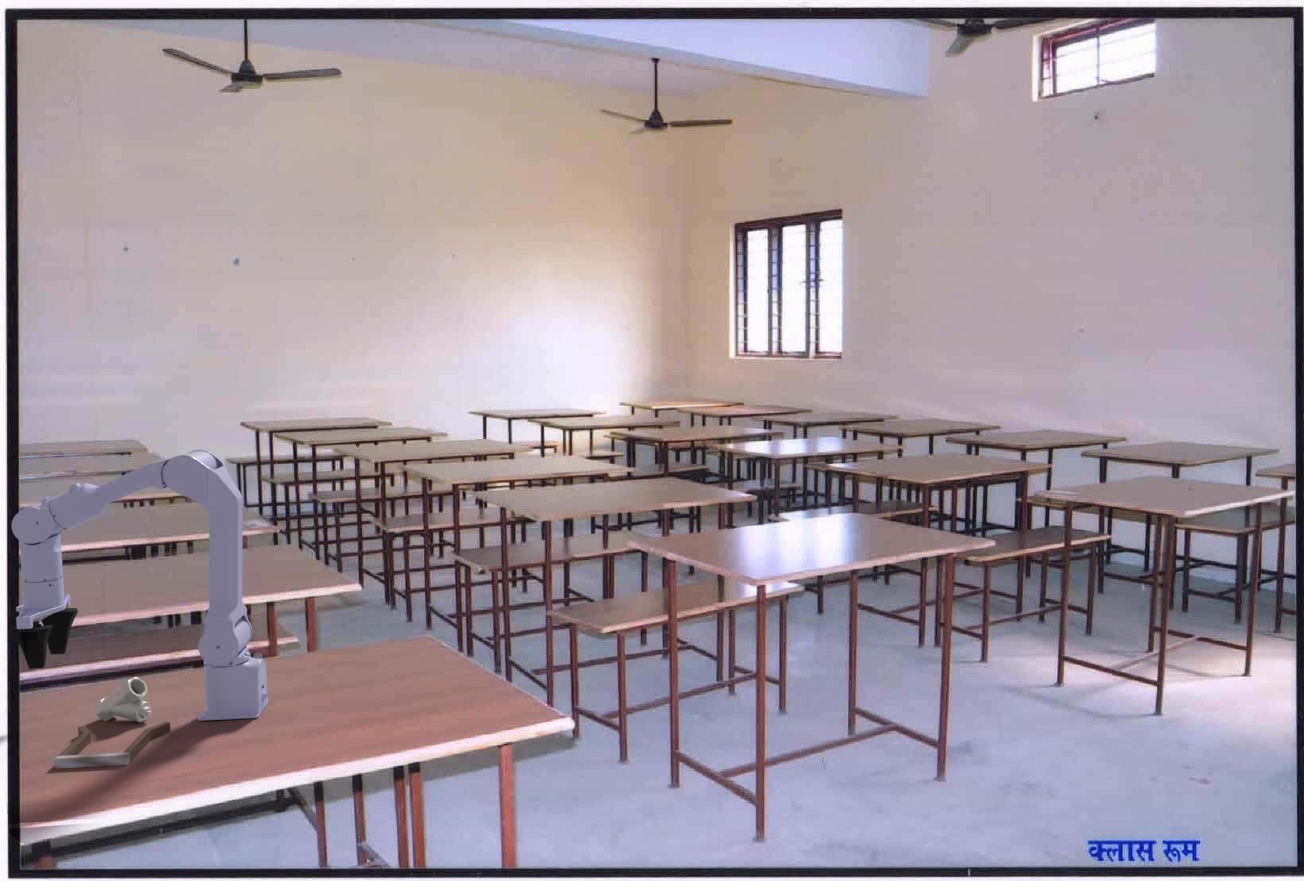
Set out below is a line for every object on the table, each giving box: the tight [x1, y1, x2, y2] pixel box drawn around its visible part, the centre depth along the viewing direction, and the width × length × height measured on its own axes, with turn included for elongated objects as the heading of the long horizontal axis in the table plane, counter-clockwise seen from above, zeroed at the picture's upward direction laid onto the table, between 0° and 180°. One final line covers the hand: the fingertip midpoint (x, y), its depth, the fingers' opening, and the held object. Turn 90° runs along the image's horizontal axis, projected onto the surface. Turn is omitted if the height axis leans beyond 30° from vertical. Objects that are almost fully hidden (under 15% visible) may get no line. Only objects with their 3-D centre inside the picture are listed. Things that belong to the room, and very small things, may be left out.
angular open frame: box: [53, 721, 171, 769], centre depth 156 cm, size 14×13×2 cm
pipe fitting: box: [94, 676, 153, 723], centre depth 167 cm, size 8×4×7 cm
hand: (47, 660), depth 166 cm, fingers open, 7 cm apart
